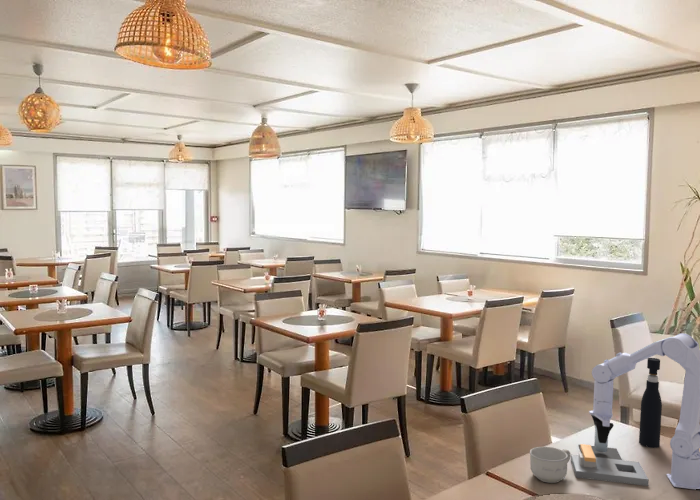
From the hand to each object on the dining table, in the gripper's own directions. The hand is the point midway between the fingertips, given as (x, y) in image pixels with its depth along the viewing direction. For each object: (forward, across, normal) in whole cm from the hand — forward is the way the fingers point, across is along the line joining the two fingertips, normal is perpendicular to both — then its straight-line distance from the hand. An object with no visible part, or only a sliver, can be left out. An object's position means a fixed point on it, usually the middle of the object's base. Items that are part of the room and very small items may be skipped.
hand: (601, 439), depth 189 cm
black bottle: (+5, -14, +18) cm, 23 cm away
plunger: (+3, +13, -6) cm, 15 cm away
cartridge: (+3, 0, 0) cm, 3 cm away
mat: (+5, 0, 0) cm, 5 cm away
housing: (+5, +13, 0) cm, 14 cm away
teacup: (+5, +21, -17) cm, 28 cm away
